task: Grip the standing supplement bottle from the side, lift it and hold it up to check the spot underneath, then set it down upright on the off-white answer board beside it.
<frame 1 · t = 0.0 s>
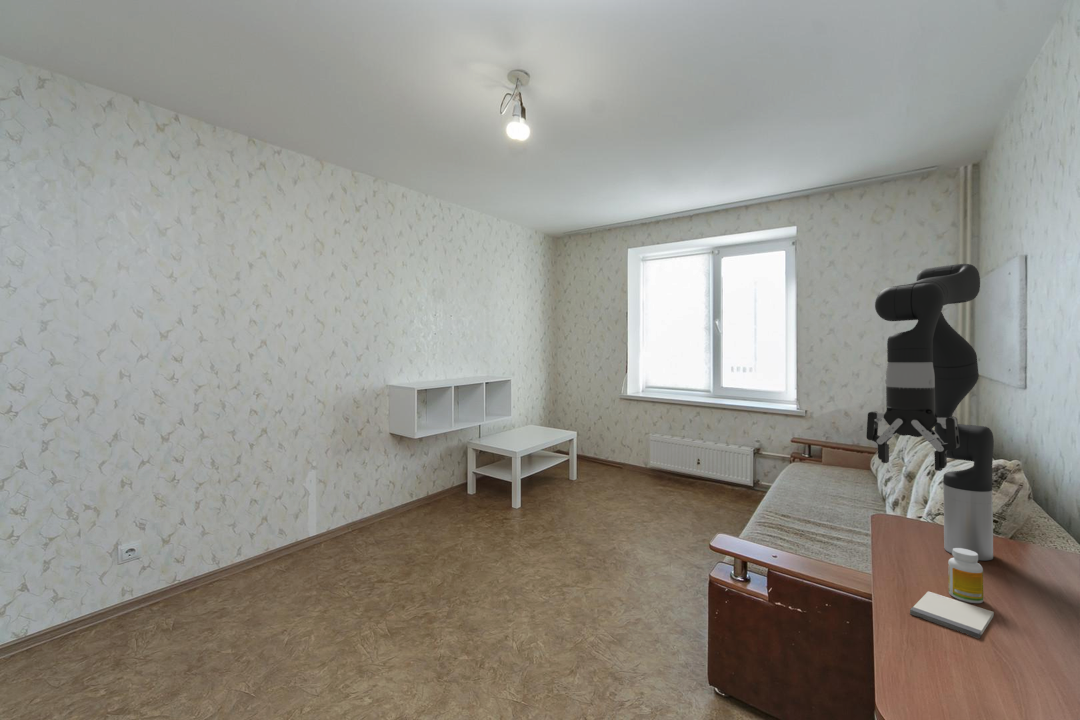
hand: (910, 466, 90), 29 cm above the table, tool pointing down, fingers open, 8 cm apart
supplement bottle: (965, 598, 96), on the table
answer board: (951, 615, 89), on the table
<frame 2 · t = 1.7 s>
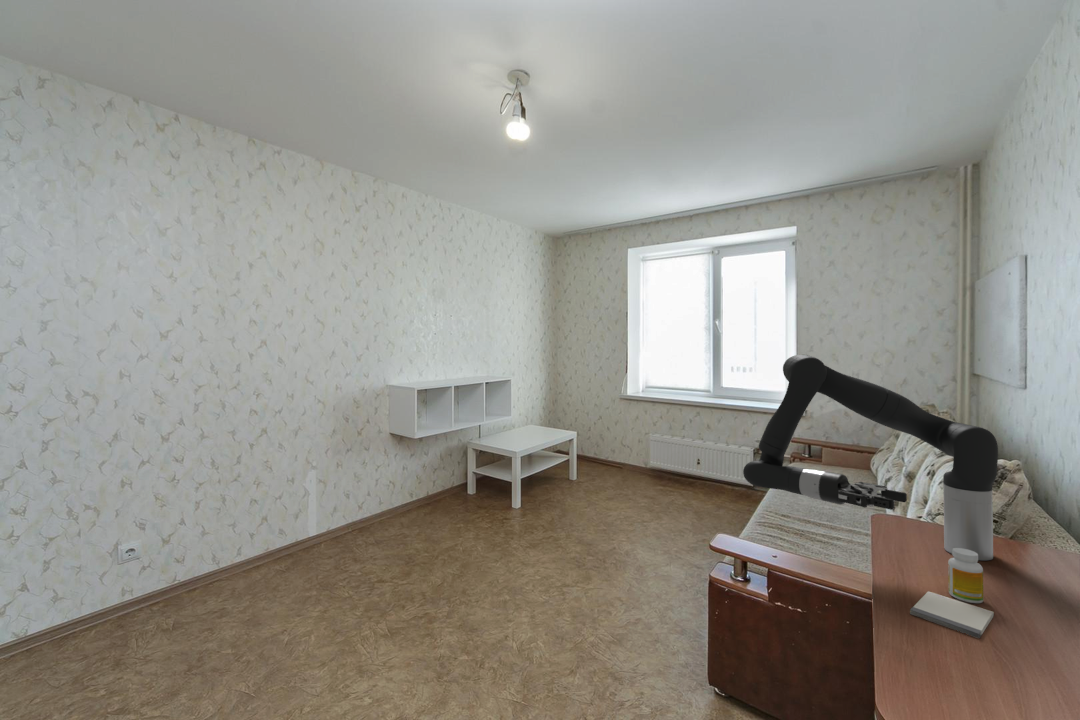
hand: (900, 501, 105), 18 cm above the table, tool horizontal, fingers open, 8 cm apart
nothing on the table moved.
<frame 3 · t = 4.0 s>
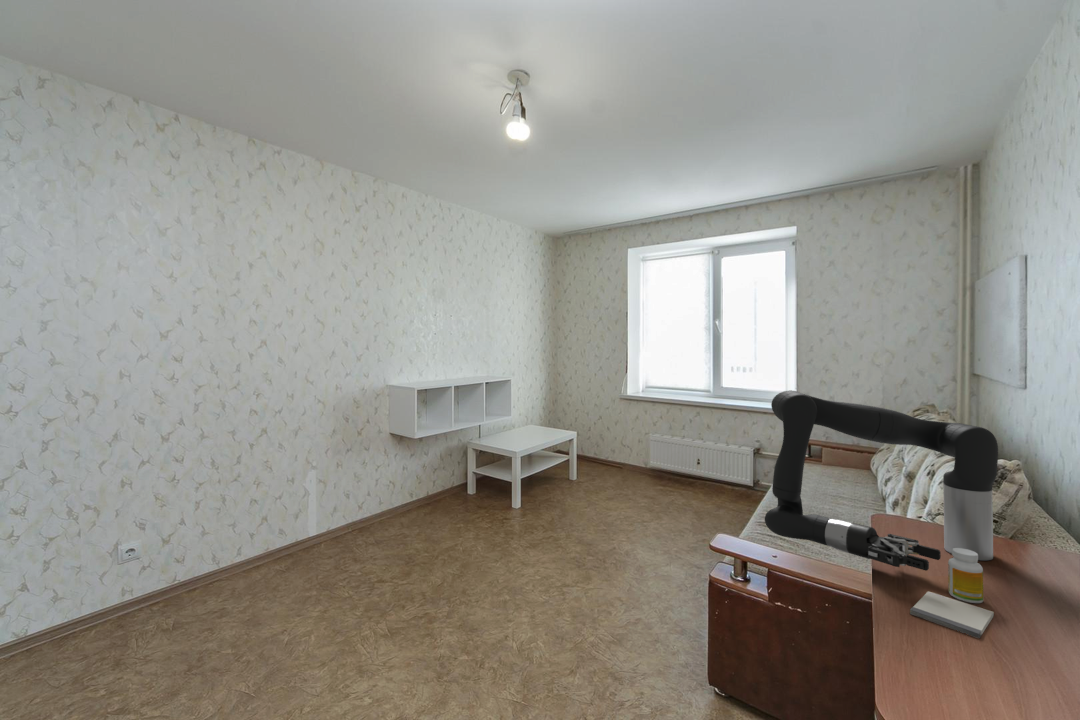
hand: (934, 560, 100), 6 cm above the table, tool horizontal, fingers open, 8 cm apart
nothing on the table moved.
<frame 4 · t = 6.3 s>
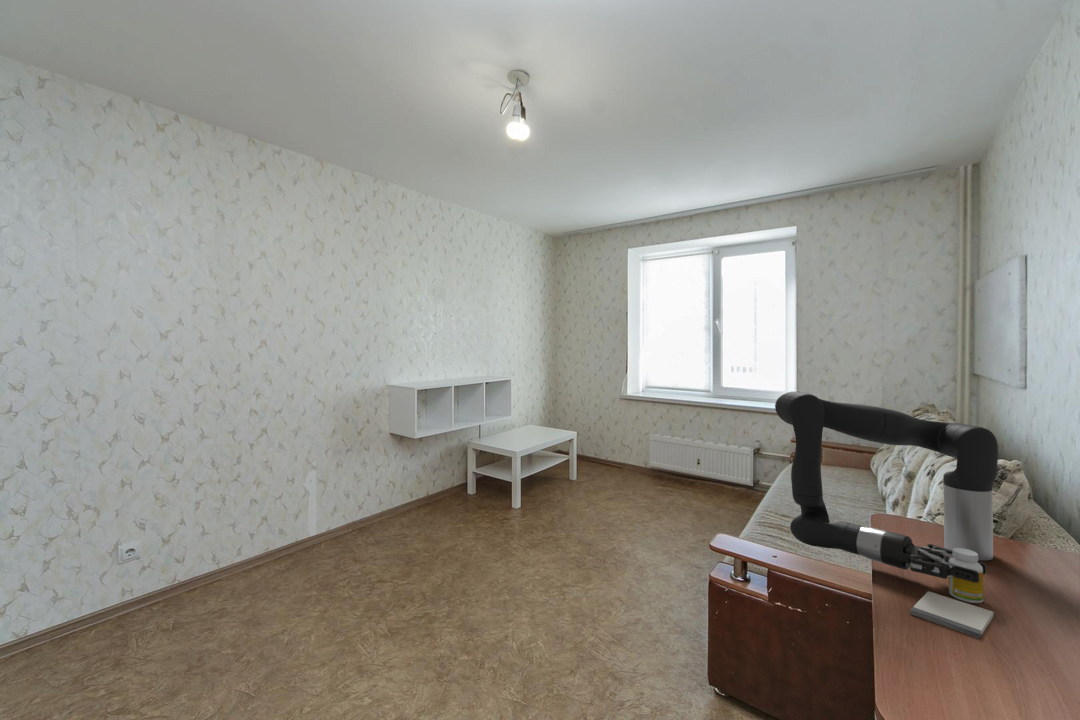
hand: (981, 573, 94), 6 cm above the table, tool horizontal, fingers closed on supplement bottle, 5 cm apart
supplement bottle: (965, 598, 96), on the table, touching gripper
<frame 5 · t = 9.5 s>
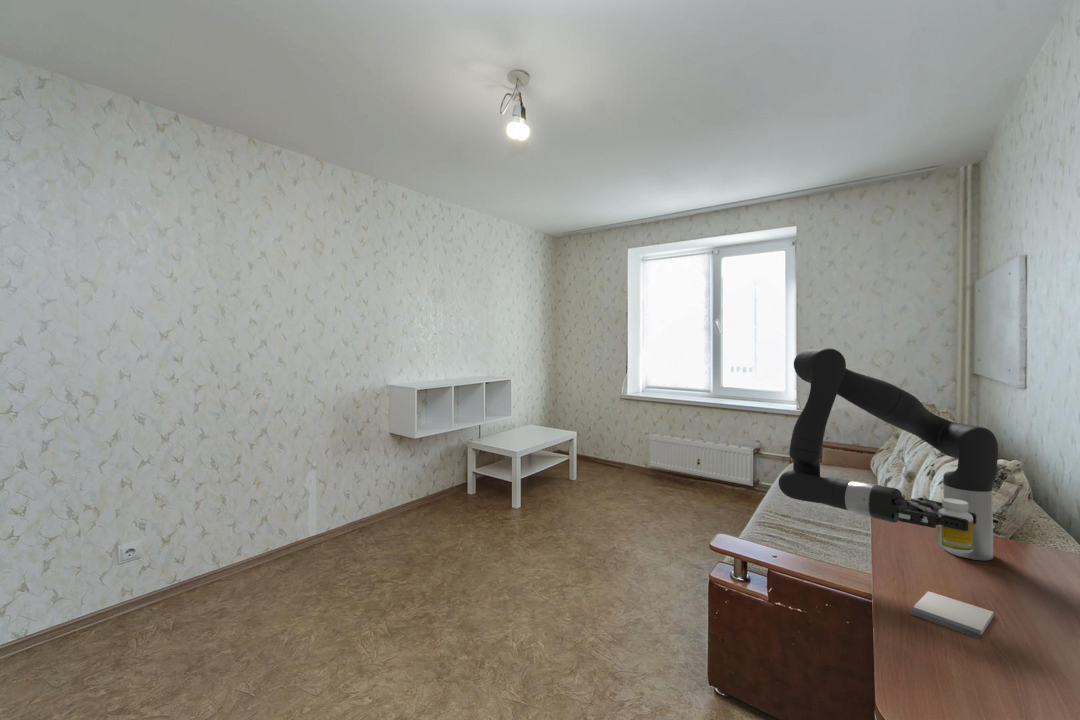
hand: (971, 522, 91), 18 cm above the table, tool horizontal, fingers closed on supplement bottle, 5 cm apart
supplement bottle: (955, 549, 93), point 11 cm above the table, touching gripper
when the fingers open (8 cm above the table, at t = 12.7 s): supplement bottle drops 1 cm, resting on answer board.
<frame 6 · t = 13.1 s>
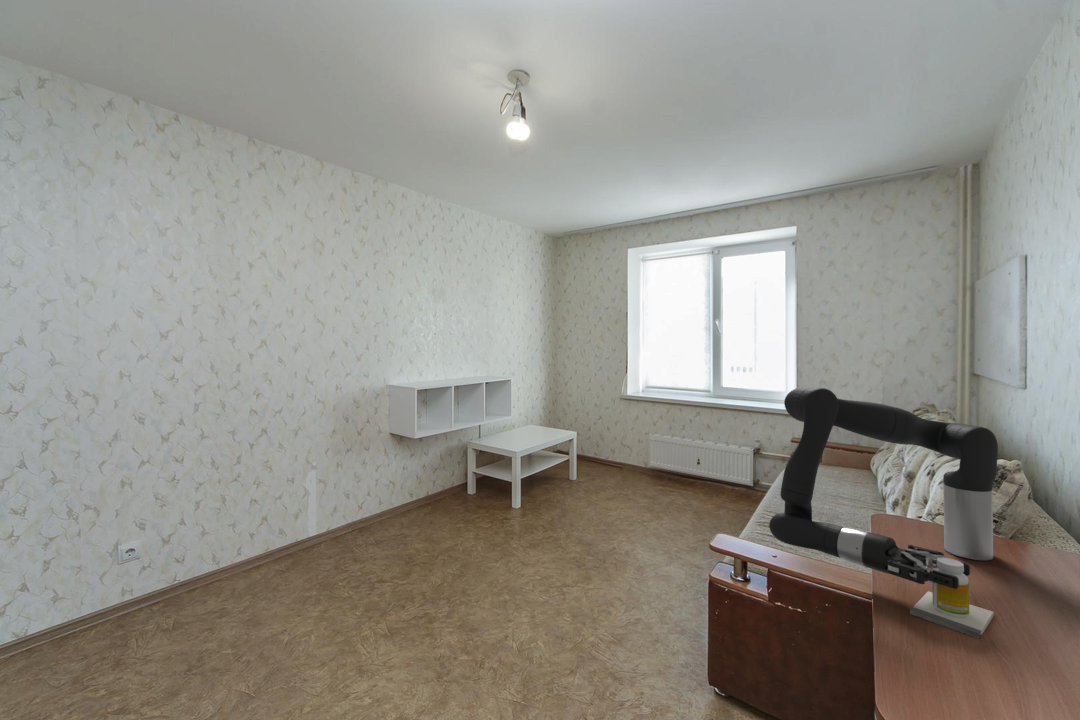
hand: (964, 576, 88), 8 cm above the table, tool horizontal, fingers open, 8 cm apart
supplement bottle: (950, 611, 89), point 1 cm above the table, touching answer board
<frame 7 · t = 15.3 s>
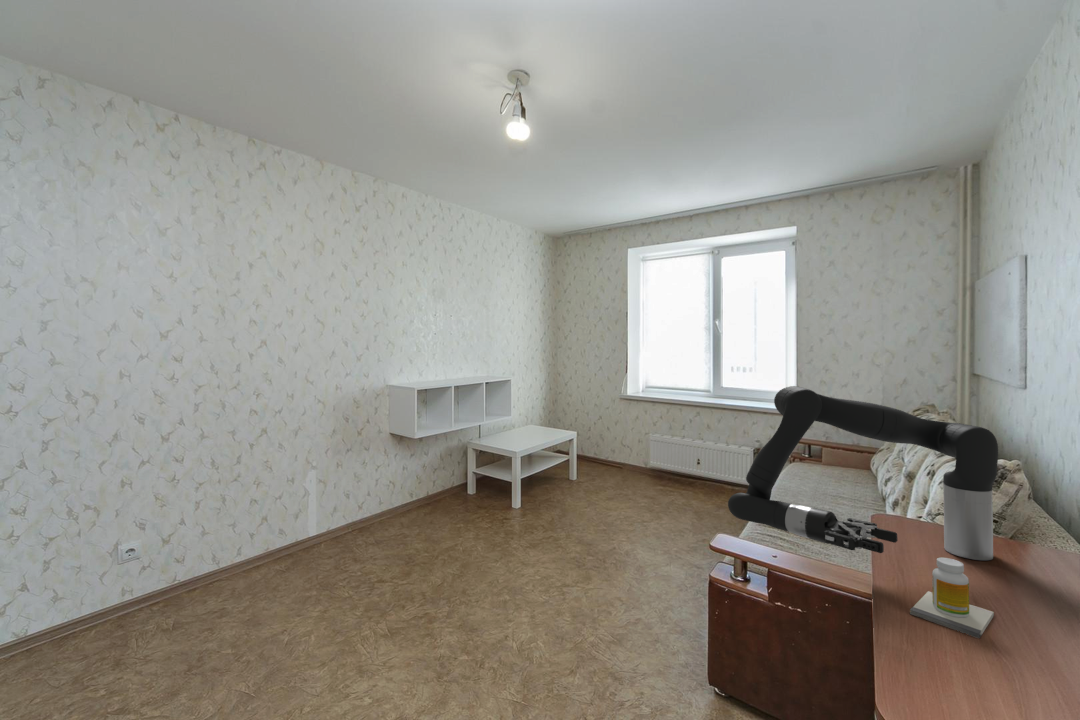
hand: (890, 542, 99), 11 cm above the table, tool horizontal, fingers open, 8 cm apart
nothing on the table moved.
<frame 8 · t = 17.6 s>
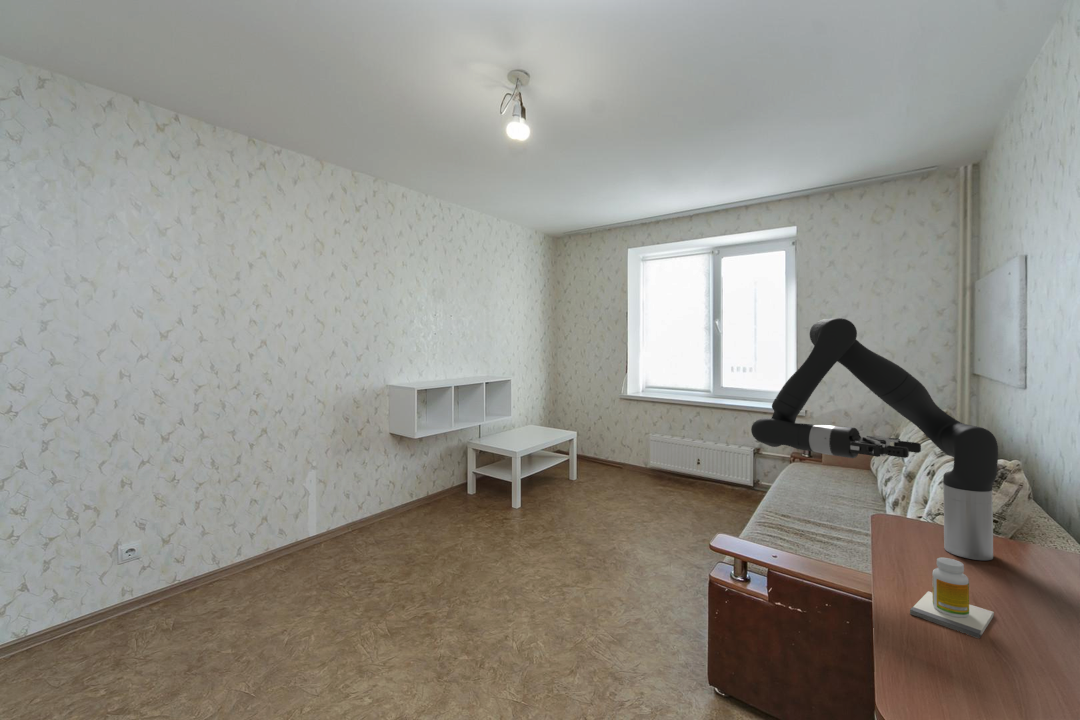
hand: (914, 450, 102), 30 cm above the table, tool horizontal, fingers open, 8 cm apart
nothing on the table moved.
at the end: supplement bottle 0.1 cm off-centre on the answer board, point 0.6 cm above the answer board's base; supplement bottle tilted 0°; the gripper is holding nothing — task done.
